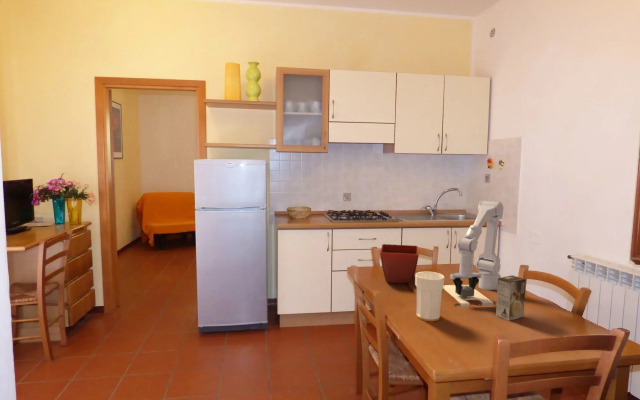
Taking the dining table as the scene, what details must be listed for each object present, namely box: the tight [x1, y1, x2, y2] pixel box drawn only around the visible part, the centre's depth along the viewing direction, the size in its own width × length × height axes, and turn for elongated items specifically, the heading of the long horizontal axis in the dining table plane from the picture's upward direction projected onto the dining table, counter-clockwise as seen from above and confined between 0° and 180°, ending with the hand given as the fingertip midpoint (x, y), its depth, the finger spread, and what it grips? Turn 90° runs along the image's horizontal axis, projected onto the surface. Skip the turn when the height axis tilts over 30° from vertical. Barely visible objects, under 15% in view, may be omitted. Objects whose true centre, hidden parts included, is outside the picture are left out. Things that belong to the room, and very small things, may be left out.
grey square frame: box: [455, 286, 474, 297], centre depth 177 cm, size 6×6×3 cm
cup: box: [414, 270, 445, 322], centre depth 158 cm, size 11×11×17 cm
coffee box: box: [495, 275, 527, 322], centre depth 160 cm, size 9×6×16 cm
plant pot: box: [379, 243, 420, 285], centre depth 206 cm, size 19×19×17 cm
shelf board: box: [442, 284, 495, 308], centre depth 182 cm, size 15×24×6 cm, turn 4°
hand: (464, 293), depth 177 cm, fingers closed on grey square frame, 5 cm apart
